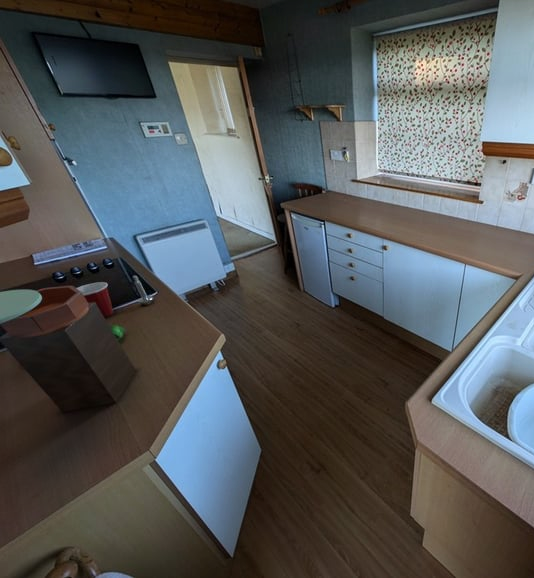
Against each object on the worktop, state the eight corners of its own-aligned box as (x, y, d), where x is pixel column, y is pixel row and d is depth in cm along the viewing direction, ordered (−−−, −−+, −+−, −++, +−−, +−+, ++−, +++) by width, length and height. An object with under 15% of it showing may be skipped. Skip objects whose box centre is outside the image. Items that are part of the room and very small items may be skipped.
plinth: (56, 415, 75) (-27, 323, 60) (87, 376, 86) (24, 289, 71) (118, 404, 78) (54, 314, 63) (140, 367, 90) (90, 283, 74)
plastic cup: (120, 303, 119) (106, 277, 113) (122, 315, 112) (107, 288, 106) (85, 313, 113) (68, 286, 107) (84, 326, 106) (66, 299, 100)
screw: (141, 308, 116) (139, 303, 119) (155, 303, 119) (153, 298, 122) (126, 279, 109) (125, 275, 112) (142, 276, 112) (141, 271, 115)
